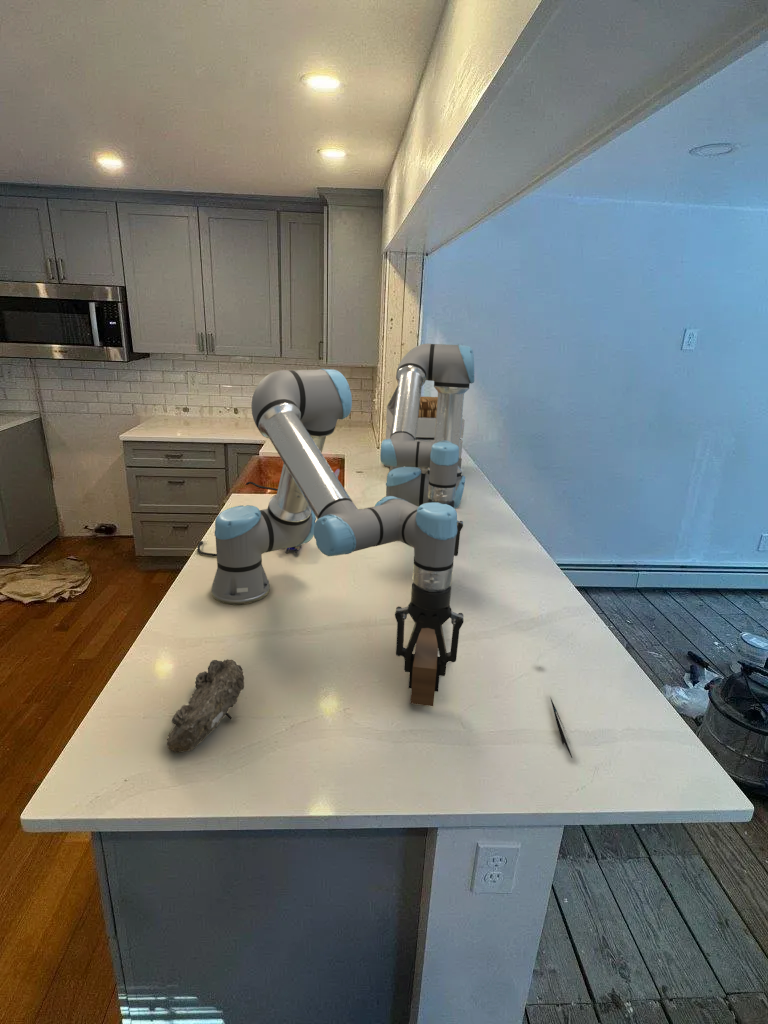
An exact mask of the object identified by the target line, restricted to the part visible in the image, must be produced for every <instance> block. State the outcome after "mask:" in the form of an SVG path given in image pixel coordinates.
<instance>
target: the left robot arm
mask: <svg viewBox="0 0 768 1024" xmlns="http://www.w3.org/2000/svg"><path fill="white" fill-rule="evenodd" d="M352 396H353V395H352V391H351V387H350V385H349V382H348V381H347V378H346V377H345V376H344V375H343V374H342V372H340V371H339V370H337V369H327V368H320V369H291V370H288V369H280V370H275V371H273V372H271V373H269V374H267V375H266V376H265V377H263V378H262V379H261V380H260V381H259V383H258V384H257V385H256V387H255V389H254V391H253V394H252V398H251V404H250V405H251V415H252V419H253V422H254V424H255V426H256V428H257V429H258V431H259V433H260V434H261V435H262V437H264V438H265V439H269V440H270V442H271V444H272V446H273V447H274V449H275V450H276V452H277V454H278V456H279V457H280V459H281V461H282V462H283V464H282V469H281V472H280V478H279V482H278V487H277V489H278V491H276V493H275V494H273V496H271V497H270V499H269V501H268V505H267V508H264V509H259V508H258V507H257V506H255V505H249V504H247V505H236V506H233V507H229V508H227V509H224V510H222V511H221V512H220V513H218V515H217V516H216V518H215V520H214V521H215V522H214V537H215V549H216V553H212V552H204V551H202V550H201V546H202V545H203V544H204V541H203V540H200V541H198V543H197V545H196V552H198V553H199V554H200V555H203V556H207V557H216V561H217V562H216V565H217V567H216V571H215V575H214V577H213V582H212V584H211V596H212V598H213V599H214V600H216V601H217V602H219V603H222V604H225V605H233V606H240V605H247V604H253V603H256V602H258V601H261V600H263V599H264V598H266V597H267V596H268V595H269V594H270V581H269V579H268V576H267V574H266V571H265V568H264V566H263V559H262V556H263V554H266V553H270V552H275V551H280V550H286V549H287V548H290V547H295V546H299V545H301V546H302V545H305V544H307V543H308V542H311V540H312V539H313V538H314V540H315V545H316V547H317V549H318V550H319V552H321V553H322V554H323V555H325V556H326V557H336V556H343V555H350V554H352V553H354V552H358V551H361V550H365V549H369V548H372V547H373V548H374V547H378V546H381V545H386V544H391V543H394V542H401V543H404V544H405V545H407V546H409V547H412V548H413V555H414V556H413V561H412V562H413V563H412V579H411V580H412V583H411V591H410V593H411V594H410V603H409V604H408V606H405V607H401V606H396V608H395V612H394V617H395V621H396V623H397V624H396V628H397V629H396V646H395V655H396V656H397V657H402V658H404V659H403V660H404V664H403V665H404V666H403V670H404V672H405V673H409V674H408V688H407V689H411V686H412V672H413V662H414V655H415V653H414V651H415V647H416V642H417V639H418V636H419V633H420V631H421V629H422V628H430V629H434V630H435V635H436V639H437V644H438V655H439V656H438V657H437V671H436V683H435V693H436V692H437V693H439V690H440V689H439V687H440V678H441V677H446V673H447V664H448V663H449V662H451V663H455V662H457V655H458V646H459V639H460V630H461V628H462V626H463V624H464V617H465V616H464V613H463V612H458V613H457V612H454V611H453V610H452V607H451V596H452V595H451V594H452V586H451V585H452V584H453V576H454V575H453V573H454V560H455V556H454V551H455V542H456V535H457V521H458V512H457V510H456V509H454V508H453V507H452V506H450V505H447V504H441V503H436V502H430V503H424V504H422V505H420V506H419V507H418V506H416V505H414V504H411V503H409V502H408V501H406V500H404V499H401V498H397V497H394V496H387V497H386V496H384V497H382V498H381V499H380V500H379V501H377V502H376V503H375V504H374V506H370V507H365V508H358V507H357V506H356V505H355V503H354V501H353V500H352V498H351V497H350V495H349V494H348V492H347V490H346V489H345V487H344V486H343V485H342V482H341V481H340V480H339V477H338V478H337V477H336V475H335V471H334V470H333V469H332V467H331V466H330V464H329V462H328V461H327V459H326V458H325V456H324V455H323V450H324V446H325V442H326V439H327V437H328V436H331V435H332V434H333V433H334V432H335V429H336V426H337V424H338V423H337V422H338V420H341V421H342V420H344V419H346V418H348V417H349V416H350V415H351V411H352V407H353V397H352ZM197 548H198V549H197ZM285 548H286V549H285ZM408 615H409V616H410V617H411V618H412V620H413V622H414V626H413V629H412V631H411V634H410V637H409V640H408V643H407V645H406V647H404V641H405V640H404V639H405V620H406V619H408ZM449 619H451V620H450V623H451V624H452V633H451V641H450V651H448V652H447V646H446V641H445V634H444V630H443V629H444V628H443V625H444V624H445V623H446V622H447V621H448V620H449Z"/></svg>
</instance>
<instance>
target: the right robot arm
mask: <svg viewBox="0 0 768 1024" xmlns="http://www.w3.org/2000/svg"><path fill="white" fill-rule="evenodd" d="M474 356H475V355H474V350H473V348H472V347H471V346H469V345H463V344H462V345H461V344H443V343H421V344H418V345H417V346H415V347H413V348H411V349H410V350H409V351H407V353H405V355H404V356H403V357H402V358H401V360H400V361H399V364H398V366H397V369H396V374H395V380H396V382H397V386H398V388H397V387H396V388H397V394H396V401H395V408H394V414H393V421H392V428H391V434H390V439H385V438H384V439H383V440H382V441H381V445H380V457H379V458H380V463H381V464H382V465H383V466H384V465H390V466H395V467H396V466H403V467H399V468H396V469H393V470H391V471H390V470H389V471H388V473H387V475H386V482H385V487H386V488H385V489H386V490H385V497H387V496H394V497H397V498H401V499H404V500H406V501H408V502H409V503H411V504H414V505H416V506H418V507H419V506H420V505H422V504H424V503H430V502H436V503H441V504H447V505H450V506H452V507H453V508H454V509H455V510H456V509H458V508H459V507H460V505H461V502H462V498H463V494H464V489H465V484H466V476H465V475H463V474H462V472H463V470H462V468H461V469H460V468H459V467H458V460H459V446H460V439H461V438H460V435H461V423H462V419H463V410H464V399H465V393H466V392H467V391H469V389H470V384H474V383H475V357H474ZM427 381H428V382H429V381H430V382H433V388H434V389H435V391H437V397H438V399H437V412H436V425H435V438H434V443H433V442H419V441H415V439H416V431H417V422H418V414H419V405H420V397H422V388H423V386H424V385H425V383H426V382H427ZM422 469H427V472H422ZM249 485H253V486H254V487H256V488H259V489H264V490H268V491H269V490H270V491H276V492H277V491H278V488H275V487H269V486H263V485H259V484H256V483H255V482H253V481H248V482H246V483H245V486H249ZM463 528H464V522H463V521H462V520H457V535H456V542H455V551H454V557H457V556H458V555H459V549H460V548H459V547H460V539H461V531H462V530H463Z"/></svg>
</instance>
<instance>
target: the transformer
mask: <svg viewBox="0 0 768 1024" xmlns="http://www.w3.org/2000/svg"><path fill="white" fill-rule="evenodd" d="M397 388H398V385H397V386H396V388H395V390H394V392H393V394H392V395H391V398H390V400H389V402H388V404H387V405H386V413H385V414H386V415H385V423H386V428H385V438H384V439H390V434H391V428H392V421H393V414H394V408H395V401H396V394H397ZM437 399H438V396H421V397H420V405H419V414H418V422H417V431H416V439H415V441H419V442H433V443H434V438H435V425H436V412H437ZM464 429H465V419H464V418H462V423H461V435H460V446H459V460H458V467H459V468H460V469H461V470H462V461H463V460H462V453H463V442H464V441H463V440H462V439H463V438H464V431H465V430H464ZM383 466H384V467H388V468H389V472H390V471H391V470H393V469H396V468H399V467H403V466H396V467H395V466H390V465H384V464H383Z"/></svg>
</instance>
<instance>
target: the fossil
mask: <svg viewBox="0 0 768 1024" xmlns="http://www.w3.org/2000/svg"><path fill="white" fill-rule="evenodd" d="M243 670H244V669H243V667H242V665H240V664H237V662H236V661H235V660H234V659H232V658H231V659H227V658H226V659H224V660H223V661H222V660H217V659H212V660H211V661H210V663H209V665H208V666H207V671H201V672H199V673H198V674H197V675H196V676H195V680H194V684H195V685H194V687H195V689H194V690H193V693H192V694H191V697H190V698H189V700H188V704H184V705H182V706H181V707H180V709H177V710H176V711H175V713H174V715H173V716H172V718H171V723H172V724H173V727H172V730H171V731H170V732H168V734H167V738H166V741H167V742H166V745H167V749H168V750H169V751H173V752H174V753H176V754H178V753H182V752H188V751H189V752H192V751H193V750H195V748H196V747H197V746H199V744H200V743H201V742H203V741H204V740H205V739H206V738H207V737H208V736H209V735H210V734H211V733H212V732H214V730H215V729H217V727H218V726H219V724H220V722H221V721H222V720H223V719H224V718H225V716H226V717H227V719H229V720H233V717H232V715H230V714H229V710H230V709H231V708H234V706H235V704H236V703H237V702H238V699H239V697H240V695H241V693H242V691H243V690H245V689H244V688H245V675H244V671H243Z"/></svg>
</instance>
